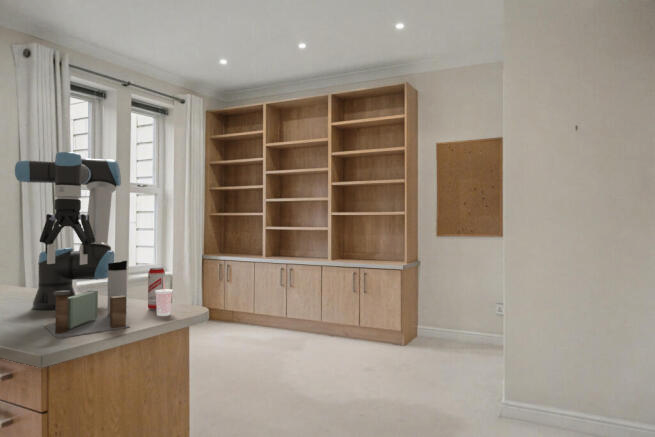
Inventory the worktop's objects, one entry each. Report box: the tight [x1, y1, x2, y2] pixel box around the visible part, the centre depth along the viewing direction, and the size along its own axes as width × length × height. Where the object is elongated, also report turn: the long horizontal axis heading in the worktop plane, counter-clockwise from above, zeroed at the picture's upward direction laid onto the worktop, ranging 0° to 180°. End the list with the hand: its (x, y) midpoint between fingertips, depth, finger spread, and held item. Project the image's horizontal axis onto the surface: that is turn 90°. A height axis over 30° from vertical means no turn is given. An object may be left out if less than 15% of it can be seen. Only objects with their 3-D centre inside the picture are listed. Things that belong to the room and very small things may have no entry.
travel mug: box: [107, 260, 128, 317], centre depth 157 cm, size 6×7×20 cm
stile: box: [110, 296, 127, 328], centre depth 139 cm, size 4×4×10 cm
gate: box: [68, 290, 99, 329], centre depth 141 cm, size 3×15×9 cm, turn 178°
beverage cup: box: [155, 276, 174, 317], centre depth 159 cm, size 6×6×14 cm
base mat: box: [44, 316, 131, 339], centre depth 140 cm, size 20×20×1 cm
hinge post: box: [53, 290, 70, 334], centre depth 131 cm, size 4×4×13 cm
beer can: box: [147, 267, 166, 311], centre depth 169 cm, size 6×6×16 cm
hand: (67, 264), depth 144 cm, fingers open, 11 cm apart
